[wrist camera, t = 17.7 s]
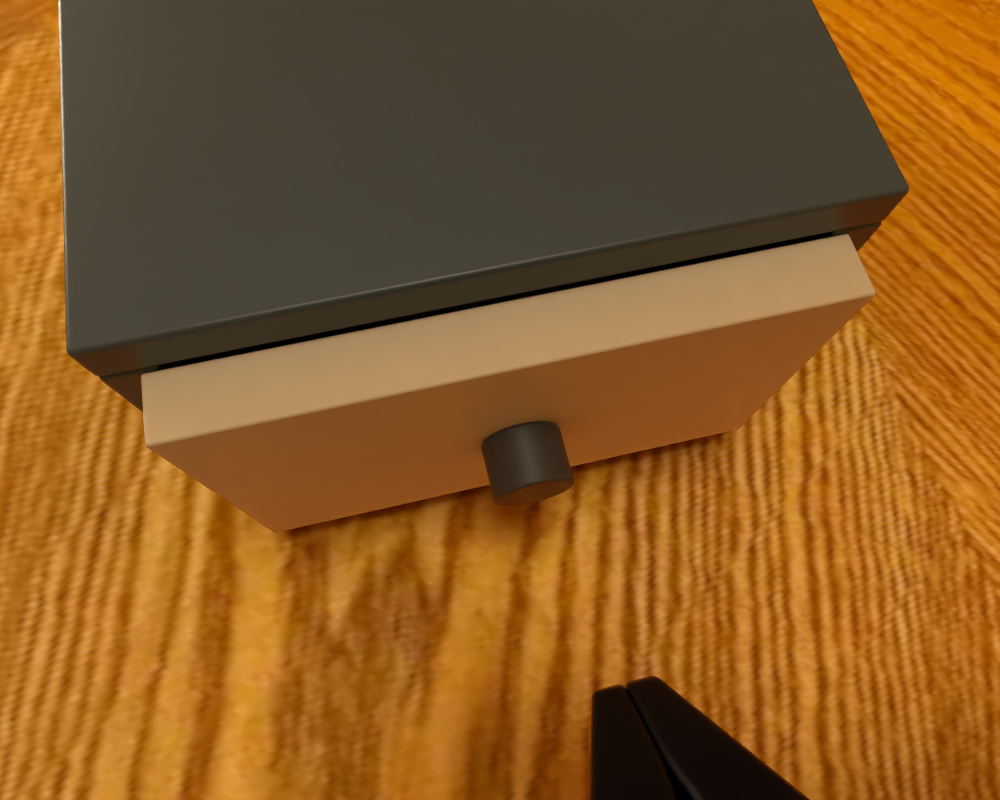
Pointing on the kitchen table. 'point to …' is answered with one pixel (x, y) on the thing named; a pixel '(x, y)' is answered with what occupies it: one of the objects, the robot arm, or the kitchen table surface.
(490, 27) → the cabinet
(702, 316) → the drawer
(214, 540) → the kitchen table surface
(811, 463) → the kitchen table surface
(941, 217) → the kitchen table surface
